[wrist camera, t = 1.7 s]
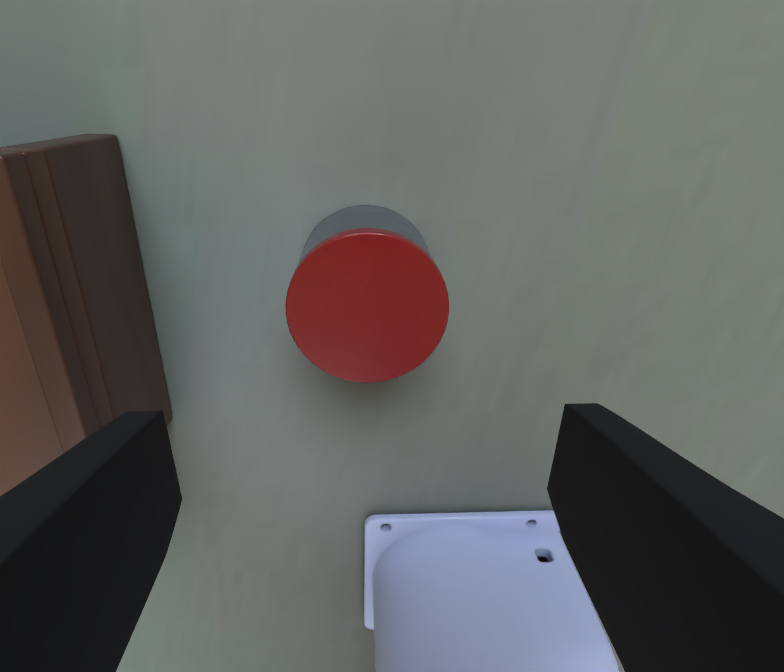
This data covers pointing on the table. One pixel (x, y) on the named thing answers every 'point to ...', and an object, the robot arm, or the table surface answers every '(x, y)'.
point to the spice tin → (366, 296)
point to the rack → (69, 302)
